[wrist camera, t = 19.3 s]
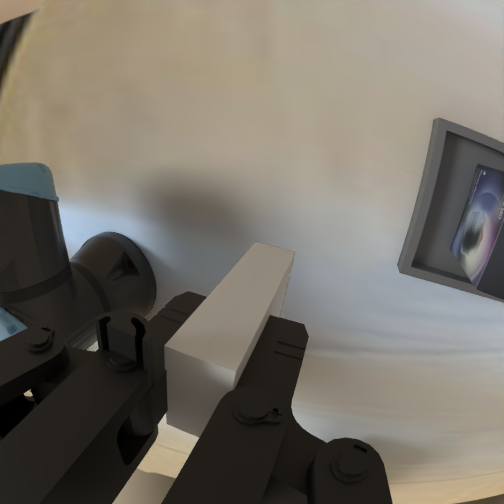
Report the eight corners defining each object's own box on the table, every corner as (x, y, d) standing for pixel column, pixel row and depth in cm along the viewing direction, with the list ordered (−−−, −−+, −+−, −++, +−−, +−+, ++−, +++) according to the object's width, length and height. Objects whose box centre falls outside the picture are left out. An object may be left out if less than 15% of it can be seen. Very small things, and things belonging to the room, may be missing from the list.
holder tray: (509, 296, 30) (515, 306, 28) (397, 264, 34) (399, 272, 32) (549, 169, 24) (560, 172, 21) (433, 119, 28) (439, 117, 25)
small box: (474, 160, 27) (516, 171, 18) (518, 181, 26) (566, 200, 16) (445, 249, 31) (473, 290, 22) (489, 265, 30) (523, 308, 21)
